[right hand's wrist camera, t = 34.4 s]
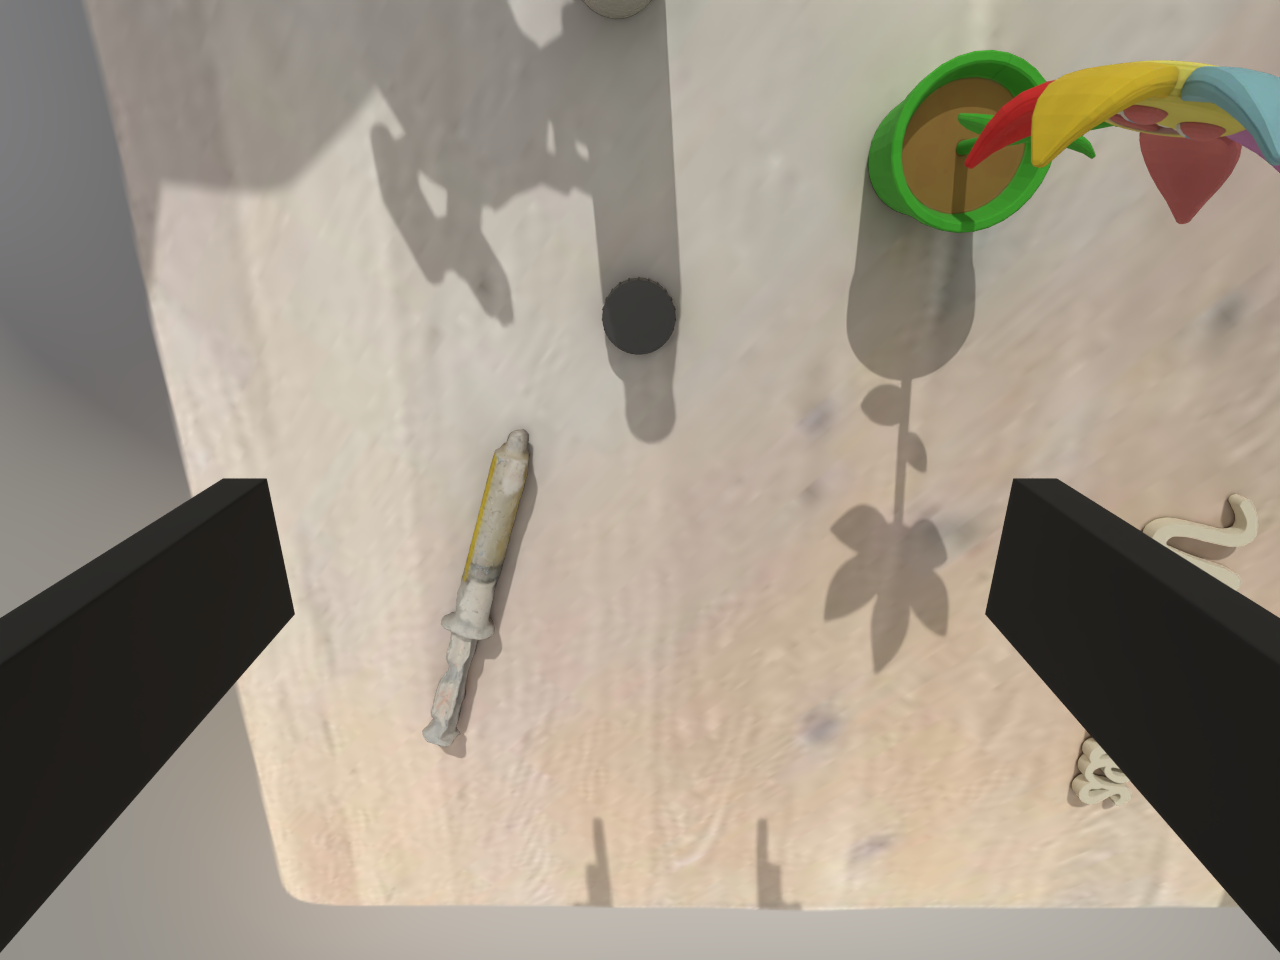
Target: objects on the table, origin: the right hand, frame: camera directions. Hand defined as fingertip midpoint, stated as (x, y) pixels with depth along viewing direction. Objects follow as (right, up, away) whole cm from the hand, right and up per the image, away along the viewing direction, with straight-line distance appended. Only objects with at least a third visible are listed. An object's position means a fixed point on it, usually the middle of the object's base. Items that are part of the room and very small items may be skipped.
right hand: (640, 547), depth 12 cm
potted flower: (+16, +19, +27) cm, 37 cm away
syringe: (-11, -7, +37) cm, 39 cm away
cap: (0, +11, +28) cm, 30 cm away
